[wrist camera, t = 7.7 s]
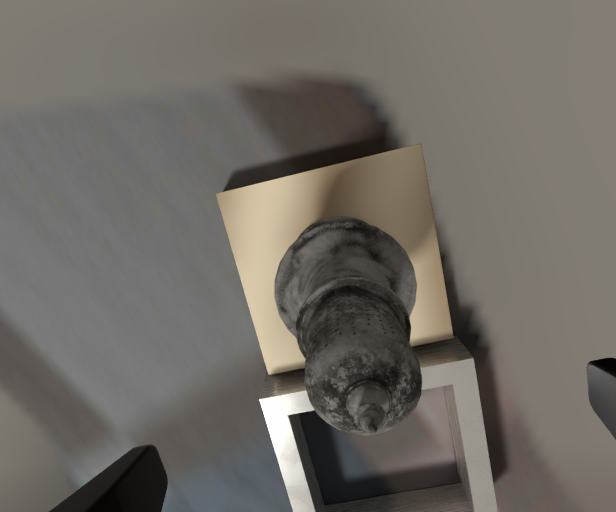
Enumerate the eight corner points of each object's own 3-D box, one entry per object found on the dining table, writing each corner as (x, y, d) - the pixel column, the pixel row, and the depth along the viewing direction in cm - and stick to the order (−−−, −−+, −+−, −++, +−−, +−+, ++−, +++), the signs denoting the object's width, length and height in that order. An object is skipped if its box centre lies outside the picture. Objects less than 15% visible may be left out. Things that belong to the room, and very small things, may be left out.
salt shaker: (291, 201, 18) (242, 266, 7) (410, 220, 19) (566, 317, 7) (274, 313, 20) (211, 527, 8) (386, 331, 20) (480, 567, 8)
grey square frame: (456, 335, 21) (473, 358, 19) (482, 495, 23) (500, 533, 21) (266, 373, 22) (259, 399, 20) (310, 523, 24) (308, 563, 22)
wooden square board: (415, 144, 19) (421, 143, 18) (446, 328, 21) (453, 337, 20) (222, 192, 20) (216, 193, 19) (271, 363, 22) (268, 374, 21)
